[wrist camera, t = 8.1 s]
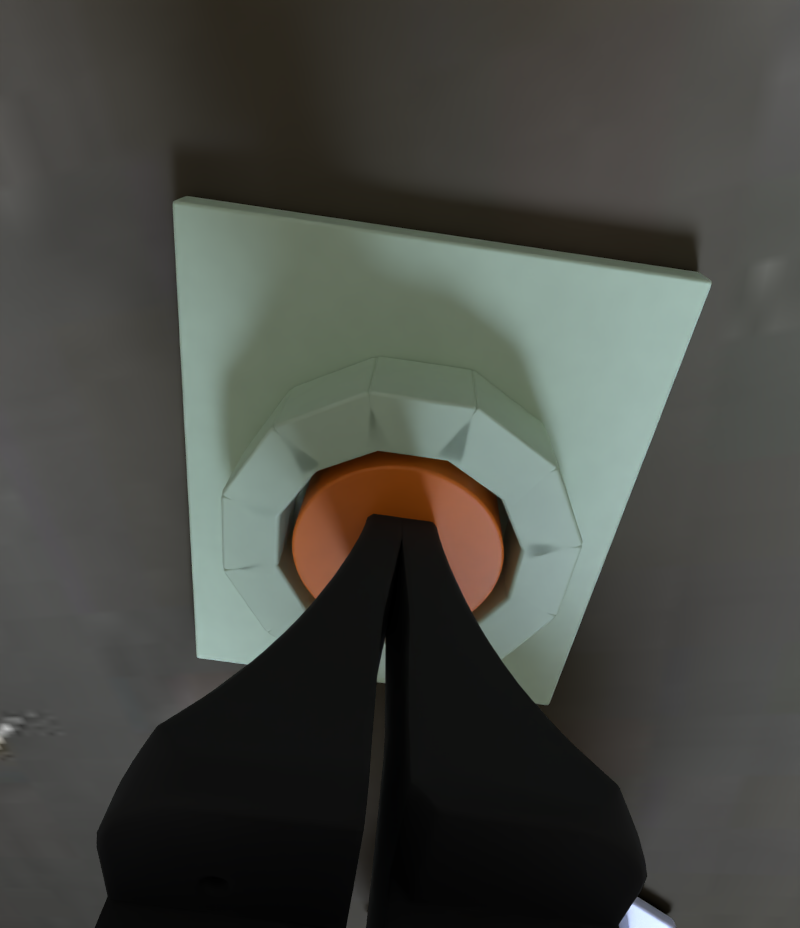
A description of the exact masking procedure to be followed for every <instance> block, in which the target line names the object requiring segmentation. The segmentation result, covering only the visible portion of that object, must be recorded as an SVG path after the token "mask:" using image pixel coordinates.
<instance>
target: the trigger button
mask: <svg viewBox="0 0 800 928" xmlns="http://www.w3.org/2000/svg"><path fill="white" fill-rule="evenodd" d="M372 514H380V515H387V516H394V517H401V518H408V519H416V520H423V521H430V522H433V523H434V524H435V526H436V527H437V530H438V534H439V537H440V541H441V544H442V547H443V550H444V552H445V555H446V558H447V560H448V563H449V565H450V568H451V570H452V572H453V575H454V577H455V579H456V581H457V583H458V585H459V587H460V590H461V592H462V594H463V596H464V598H465V600H466V602H467V604H468V606H469V608H470V610H471V611H474V610H475V609H476V608H477V607H479V606H480V605H481V604H482V603H483V602H484V601H485V600H486V598H487V597H488V596H489V594H490V593H491V592H492V590H493V588H494V587H495V585H496V583H497V581H498V579H499V576H500V573H501V571H502V566H503V561H504V545H503V538H502V531H501V523H500V516H499V509H498V502H497V495H495V494H494V493H493V492H491V491H490V490H488V489H487V488H486V487H484V486H483V485H481V484H480V483H479V482H477V481H476V480H474V479H473V478H472V477H470V476H469V475H467V474H466V473H464V472H463V471H462V470H460V469H459V468H457V467H456V466H455V465H453V464H452V463H450V462H449V461H447V460H440V459H433V458H426V457H419V456H412V455H405V454H398V453H391V452H384V451H376V452H373V453H370V454H367V455H364V456H361V457H358V458H355V459H352V460H349V461H346V462H343V463H340V464H337V465H334V466H331V467H328V468H325V469H322V470H319V471H316V473H315V474H314V475H313V476H312V477H311V479H310V482H309V485H308V487H307V490H306V493H305V496H304V499H303V502H302V505H301V508H300V511H299V514H298V517H297V520H296V523H295V526H294V529H293V536H292V554H293V559H294V563H295V566H296V569H297V572H298V575H299V576H300V578H301V580H302V582H303V584H304V585H305V587H306V588H307V589H308V591H309V592H310V594H311V595H312V596H313V597H314V598H315V599H316V598H317V596H318V595H319V594H320V593H321V592H322V590H323V589H324V588H325V587H326V585H327V584H328V583H329V582H330V580H331V579H332V578H333V576H334V575H335V574H336V572H337V571H338V569H339V568H340V566H341V565H342V564H343V562H344V561H345V559H346V558H347V556H348V555H349V553H350V552H351V550H352V548H353V547H354V545H355V543H356V542H357V540H358V538H359V536H360V534H361V532H362V530H363V528H364V526H365V523H366V520H367V517H369V516H370V515H372Z"/></svg>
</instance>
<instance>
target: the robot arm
mask: <svg viewBox="0 0 800 928" xmlns="http://www.w3.org/2000/svg"><path fill="white" fill-rule="evenodd" d="M385 637H386V648H385V743H384V761H383V771H382V781H381V791H380V801H379V811H378V820H377V830H376V840H375V850H374V859H373V869H372V878H371V887H370V897H369V906H368V916H367V925H366V928H676V926H675V923H674V920H673V919H672V918H671V917H669V916H667V915H666V914H664V913H663V912H661V911H659V910H658V909H656V908H655V907H653V906H651V905H650V904H648V903H647V902H645V901H644V900H642V899H640V898H639V897H637V896H638V895H639V893H640V892H641V890H642V888H643V885H644V883H645V880H646V877H647V872H646V864H645V859H644V855H643V851H642V847H641V844H640V840H639V837H638V834H637V831H636V828H635V826H634V823H633V821H632V818H631V815H630V813H629V810H628V808H627V805H626V803H625V800H624V798H623V795H622V793H621V790H620V788H619V786H618V785H617V784H616V783H615V782H614V781H613V780H611V779H610V778H609V777H608V776H607V775H606V774H605V773H604V772H603V771H602V770H600V769H599V768H598V767H597V766H596V765H595V764H594V763H593V762H592V761H591V760H589V759H588V758H587V757H586V756H585V755H584V754H583V753H582V752H581V751H580V750H578V749H577V748H576V747H575V746H574V745H573V744H572V743H571V742H570V741H569V740H568V739H567V738H566V737H565V736H564V735H563V734H562V733H561V732H560V731H559V730H558V729H557V727H556V726H555V725H554V724H553V723H552V722H551V721H550V720H549V719H548V718H547V717H546V716H545V714H544V713H543V712H542V711H541V710H540V708H539V707H538V706H537V705H536V704H535V703H534V701H533V700H532V699H531V698H530V697H529V695H528V694H527V693H526V692H525V691H524V690H523V688H522V687H521V686H520V685H519V683H518V682H517V681H516V679H515V678H514V677H513V675H512V674H511V673H510V671H509V670H508V669H507V667H506V666H505V664H504V663H503V662H502V660H501V659H500V657H499V656H498V654H497V653H496V651H495V650H494V648H493V647H492V645H491V644H490V642H489V641H488V639H487V637H486V636H485V634H484V632H483V631H482V629H481V627H480V626H479V624H478V622H477V620H476V619H475V617H474V615H473V613H472V611H471V610H470V608H469V606H468V604H467V602H466V600H465V598H464V596H463V594H462V592H461V590H460V587H459V585H458V583H457V581H456V579H455V577H454V575H453V572H452V570H451V568H450V565H449V563H448V560H447V558H446V555H445V552H444V550H443V547H442V544H441V541H440V537H439V534H438V530H437V527H436V526H435V524H434V523H433V522H430V521H423V520H416V519H408V518H401V517H394V516H387V515H380V514H372V515H370V516H369V517H367V520H366V523H365V526H364V528H363V530H362V532H361V534H360V536H359V538H358V540H357V542H356V543H355V545H354V547H353V548H352V550H351V552H350V553H349V555H348V556H347V558H346V559H345V561H344V562H343V564H342V565H341V566H340V568H339V569H338V571H337V572H336V574H335V575H334V576H333V578H332V579H331V580H330V582H329V583H328V584H327V585H326V587H325V588H324V589H323V590H322V592H321V593H320V594H319V595H318V596H317V598H316V599H315V600H314V601H313V603H312V604H311V605H310V606H309V607H308V608H307V609H306V610H305V612H304V613H303V614H302V615H301V616H300V617H299V618H298V619H297V620H296V621H295V622H294V623H293V624H292V625H291V626H290V627H289V628H288V629H287V630H286V631H285V632H284V633H283V634H282V635H281V636H280V637H279V638H278V639H277V640H275V641H274V642H273V643H272V644H271V645H270V646H269V647H268V648H267V649H266V650H265V651H263V652H262V653H261V654H260V655H259V656H258V657H256V658H255V659H254V660H253V661H252V662H250V663H249V664H248V665H247V666H245V667H244V668H243V669H241V670H240V671H239V672H237V673H236V674H235V675H233V676H232V677H231V678H229V679H228V680H227V681H225V682H224V683H223V684H221V685H220V686H219V687H217V688H216V689H215V690H213V691H212V692H210V693H209V694H207V695H206V696H205V697H203V698H202V699H200V700H198V701H197V702H195V703H194V704H192V705H190V706H189V707H187V708H186V709H184V710H182V711H181V712H179V713H178V714H176V715H174V716H173V717H171V718H170V719H168V720H167V721H165V722H163V723H162V724H160V725H158V726H157V727H156V729H155V730H154V731H153V733H152V734H151V735H150V737H149V738H148V740H147V741H146V743H145V744H144V745H143V747H142V748H141V750H140V751H139V753H138V754H137V756H136V757H135V759H134V760H133V762H132V763H131V765H130V767H129V768H128V770H127V772H126V773H125V775H124V777H123V778H122V780H121V782H120V784H119V786H118V788H117V790H116V792H115V794H114V796H113V798H112V801H111V803H110V805H109V807H108V809H107V812H106V814H105V816H104V818H103V820H102V822H101V825H100V827H99V829H98V831H97V851H98V855H99V859H100V864H101V868H102V873H103V877H104V882H105V886H106V891H107V895H108V897H107V900H106V902H105V904H104V907H103V909H102V912H101V914H100V916H99V919H98V921H97V924H96V926H95V928H346V924H347V919H348V913H349V908H350V902H351V897H352V891H353V886H354V880H355V875H356V869H357V864H358V859H359V853H360V848H361V842H362V837H363V831H364V824H365V815H366V805H367V796H368V786H369V773H370V758H371V745H372V732H373V719H374V707H375V696H376V684H377V674H378V669H379V664H380V660H381V655H382V651H383V646H384V641H385Z"/></svg>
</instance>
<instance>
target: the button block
mask: <svg viewBox="0 0 800 928" xmlns="http://www.w3.org/2000/svg"><path fill="white" fill-rule="evenodd" d="M173 223H174V241H175V260H176V279H177V297H178V316H179V335H180V353H181V372H182V391H183V410H184V428H185V447H186V466H187V484H188V503H189V522H190V540H191V559H192V578H193V596H194V615H195V634H196V652H197V657H198V658H203V659H210V660H218V661H225V662H233V663H240V664H247V665H248V664H249V663H250V662H252V661H253V660H254V659H255V658H256V657H258V656H259V655H260V654H261V653H262V652H263V651H265V650H266V649H267V648H268V647H269V646H270V645H271V644H272V643H273V642H274V641H275V640H277V639H278V638H279V637H280V636H281V635H282V634H283V633H284V632H285V631H286V630H287V629H288V628H289V627H290V626H291V625H292V624H293V623H294V622H295V621H296V620H297V619H298V618H299V617H300V616H301V615H302V614H303V613H304V612H305V610H306V609H307V608H308V607H309V606H310V605H311V604H312V603H313V601H314V600H315V598H314V597H313V596H312V595H311V594H310V592H309V591H308V589H307V588H306V587H305V585H304V584H303V582H302V580H301V578H300V576H299V575H298V572H297V569H296V566H295V563H294V559H293V554H292V536H293V529H294V526H295V523H296V520H297V517H298V514H299V511H300V508H301V505H302V502H303V499H304V496H305V493H306V490H307V487H308V485H309V482H310V479H311V477H312V476H313V475H314V474H315V473H316V471H319V470H322V469H325V468H328V467H331V466H334V465H337V464H340V463H343V462H346V461H349V460H352V459H355V458H358V457H361V456H364V455H367V454H370V453H373V452H376V451H384V452H391V453H398V454H405V455H412V456H419V457H426V458H433V459H440V460H447V461H449V462H450V463H452V464H453V465H455V466H456V467H457V468H459V469H460V470H462V471H463V472H464V473H466V474H467V475H469V476H470V477H472V478H473V479H474V480H476V481H477V482H479V483H480V484H481V485H483V486H484V487H486V488H487V489H488V490H490V491H491V492H493V493H494V494H495V495H497V502H498V509H499V516H500V523H501V531H502V538H503V545H504V561H503V566H502V571H501V573H500V576H499V579H498V581H497V583H496V585H495V587H494V588H493V590H492V592H491V593H490V594H489V596H488V597H487V598H486V600H485V601H484V602H483V603H482V604H481V605H480V606H479V607H477V608H476V609H475V610H474V611H472V613H473V615H474V617H475V619H476V620H477V622H478V624H479V626H480V627H481V629H482V631H483V632H484V634H485V636H486V637H487V639H488V641H489V642H490V644H491V645H492V647H493V648H494V650H495V651H496V653H497V654H498V656H499V657H500V659H501V660H502V662H503V663H504V664H505V666H506V667H507V669H508V670H509V671H510V673H511V674H512V675H513V677H514V678H515V679H516V681H517V682H518V683H519V685H520V686H521V687H522V688H523V690H524V691H525V692H526V693H527V694H528V695H529V697H530V698H531V699H532V700H533V701H534V703H535V704H542V705H549V703H550V701H551V698H552V696H553V693H554V690H555V688H556V685H557V683H558V680H559V677H560V675H561V672H562V670H563V667H564V664H565V662H566V659H567V657H568V654H569V652H570V649H571V646H572V644H573V641H574V639H575V636H576V633H577V631H578V628H579V626H580V623H581V621H582V618H583V615H584V613H585V610H586V608H587V605H588V602H589V600H590V597H591V595H592V592H593V589H594V587H595V584H596V582H597V579H598V577H599V574H600V571H601V569H602V566H603V564H604V561H605V558H606V556H607V553H608V551H609V548H610V546H611V543H612V540H613V538H614V535H615V533H616V530H617V527H618V525H619V522H620V520H621V517H622V514H623V512H624V509H625V507H626V504H627V502H628V499H629V496H630V494H631V491H632V489H633V486H634V483H635V481H636V478H637V476H638V473H639V471H640V468H641V465H642V463H643V460H644V458H645V455H646V452H647V450H648V447H649V445H650V442H651V439H652V437H653V434H654V432H655V429H656V427H657V424H658V421H659V419H660V416H661V414H662V411H663V408H664V406H665V403H666V401H667V398H668V396H669V393H670V390H671V388H672V385H673V383H674V380H675V377H676V375H677V372H678V370H679V367H680V365H681V362H682V359H683V357H684V354H685V352H686V349H687V346H688V344H689V341H690V339H691V336H692V333H693V331H694V328H695V326H696V323H697V321H698V318H699V315H700V313H701V310H702V308H703V305H704V302H705V300H706V297H707V295H708V292H709V290H710V287H711V280H709V279H708V278H706V277H705V276H703V275H702V274H701V273H699V272H695V271H688V270H681V269H675V268H668V267H661V266H654V265H648V264H641V263H634V262H628V261H621V260H614V259H607V258H601V257H594V256H587V255H581V254H574V253H567V252H560V251H554V250H547V249H540V248H533V247H527V246H520V245H513V244H507V243H500V242H493V241H486V240H480V239H473V238H466V237H460V236H453V235H446V234H439V233H433V232H426V231H419V230H413V229H406V228H399V227H392V226H386V225H379V224H372V223H365V222H359V221H352V220H345V219H339V218H332V217H325V216H318V215H312V214H305V213H298V212H292V211H285V210H278V209H271V208H265V207H258V206H251V205H245V204H238V203H231V202H224V201H218V200H211V199H204V198H197V197H191V196H185V197H182V198H180V199H178V200H175V201H173ZM385 648H386V637H385V641H384V646H383V651H382V655H381V660H380V664H379V669H378V674H377V682H380V683H385Z"/></svg>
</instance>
